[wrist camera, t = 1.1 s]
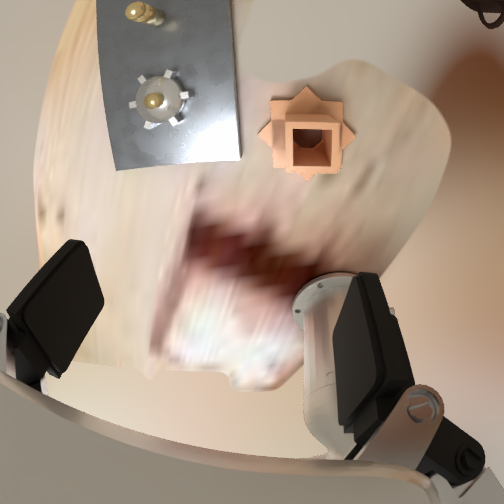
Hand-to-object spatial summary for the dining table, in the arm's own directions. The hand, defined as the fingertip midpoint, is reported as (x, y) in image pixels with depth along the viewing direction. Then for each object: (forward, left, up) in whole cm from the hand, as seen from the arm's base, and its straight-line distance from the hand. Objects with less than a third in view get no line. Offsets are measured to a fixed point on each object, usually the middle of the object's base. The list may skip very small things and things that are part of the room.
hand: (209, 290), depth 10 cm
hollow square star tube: (-5, -1, -24) cm, 24 cm away
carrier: (+10, -10, -24) cm, 27 cm away
